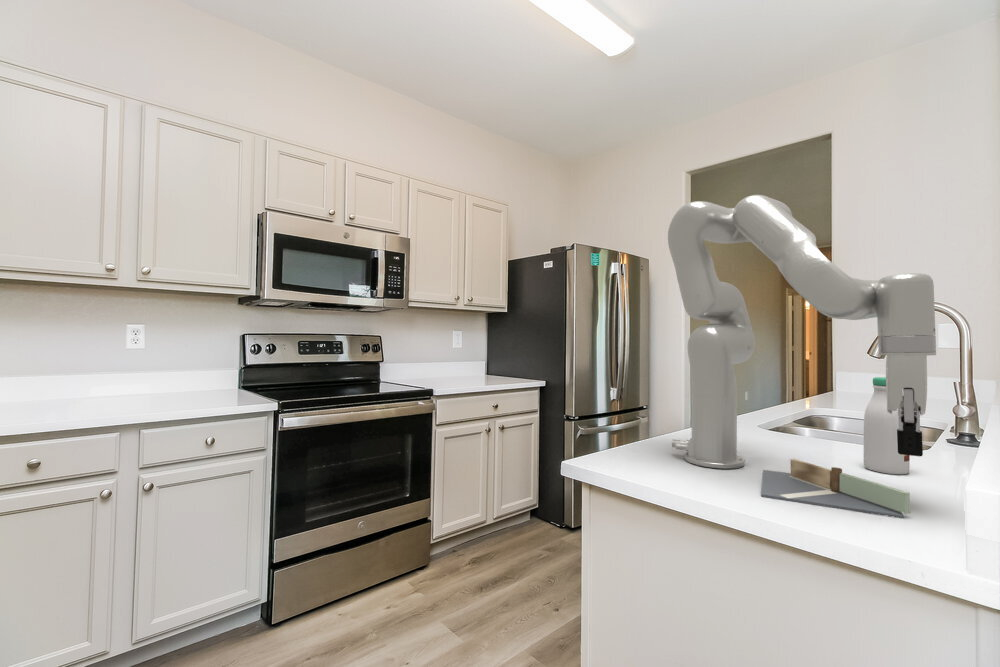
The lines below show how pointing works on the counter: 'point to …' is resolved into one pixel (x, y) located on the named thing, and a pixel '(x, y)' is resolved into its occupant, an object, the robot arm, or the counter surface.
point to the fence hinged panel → (875, 492)
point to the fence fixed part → (817, 474)
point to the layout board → (816, 494)
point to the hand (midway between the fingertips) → (910, 454)
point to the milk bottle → (882, 434)
